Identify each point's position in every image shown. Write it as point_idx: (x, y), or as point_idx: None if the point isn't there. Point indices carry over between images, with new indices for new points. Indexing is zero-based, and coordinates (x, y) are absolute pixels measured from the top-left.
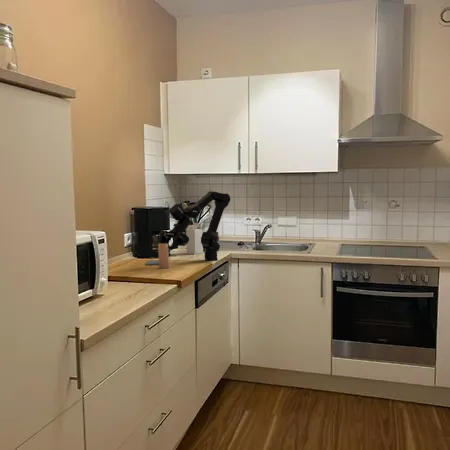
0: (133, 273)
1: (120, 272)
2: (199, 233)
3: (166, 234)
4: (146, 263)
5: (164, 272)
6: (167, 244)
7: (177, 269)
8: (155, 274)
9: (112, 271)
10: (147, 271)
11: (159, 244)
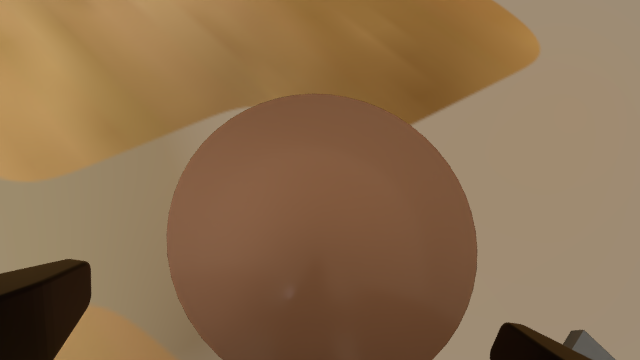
0: (324, 9)
1: (432, 4)
2: None
3: None
4: (606, 351)
5: (111, 127)
6: (171, 257)
7: None
8: (133, 36)
9: (507, 10)
10: None
11: (337, 100)
